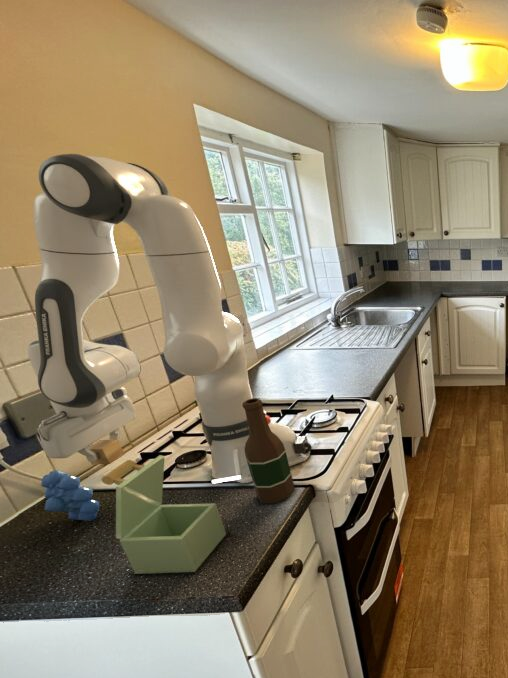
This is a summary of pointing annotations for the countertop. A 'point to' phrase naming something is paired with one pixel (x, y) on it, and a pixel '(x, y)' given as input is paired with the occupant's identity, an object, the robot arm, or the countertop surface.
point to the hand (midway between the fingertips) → (105, 453)
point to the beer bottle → (266, 457)
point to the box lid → (136, 492)
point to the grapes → (69, 496)
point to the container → (174, 538)
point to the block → (107, 451)
